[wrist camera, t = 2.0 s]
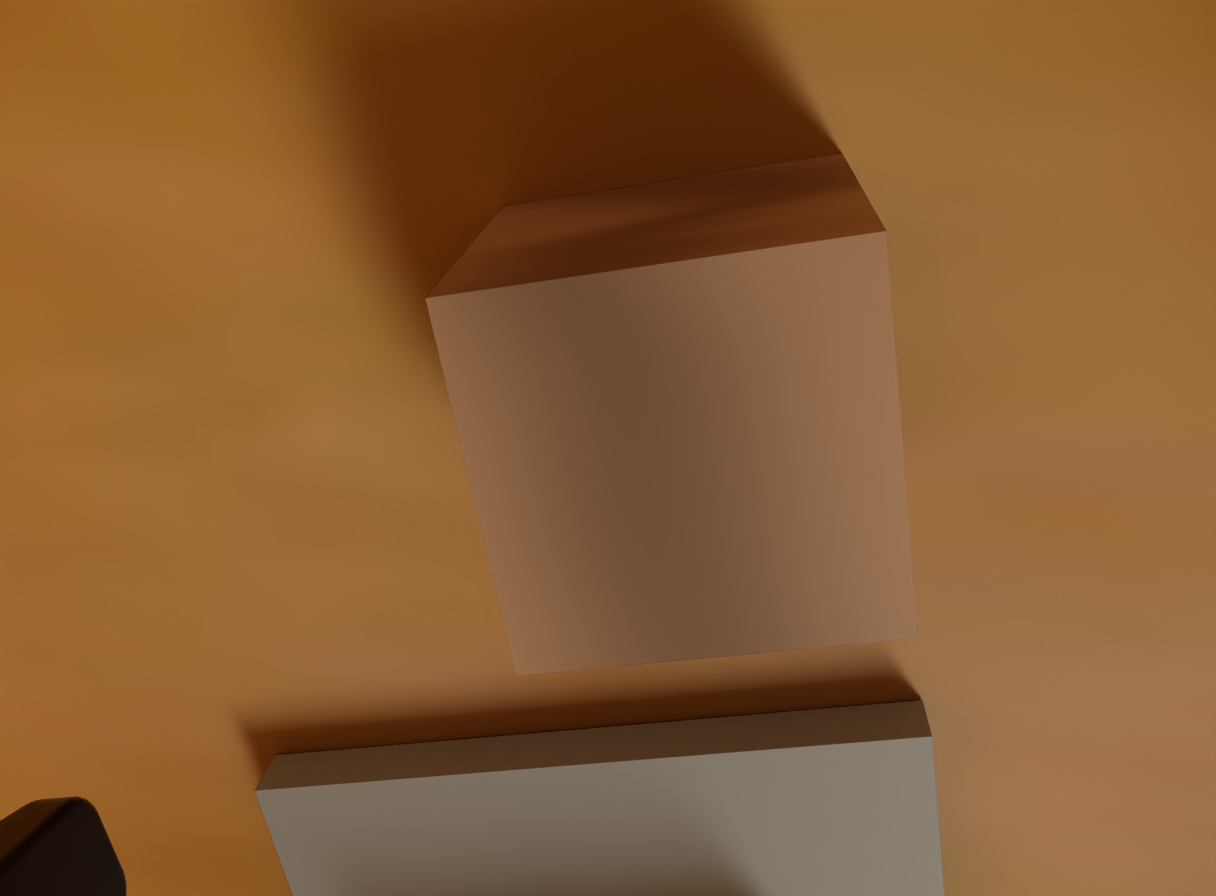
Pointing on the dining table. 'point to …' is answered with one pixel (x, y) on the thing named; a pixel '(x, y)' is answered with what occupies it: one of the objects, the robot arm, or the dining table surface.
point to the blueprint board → (622, 810)
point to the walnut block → (684, 418)
